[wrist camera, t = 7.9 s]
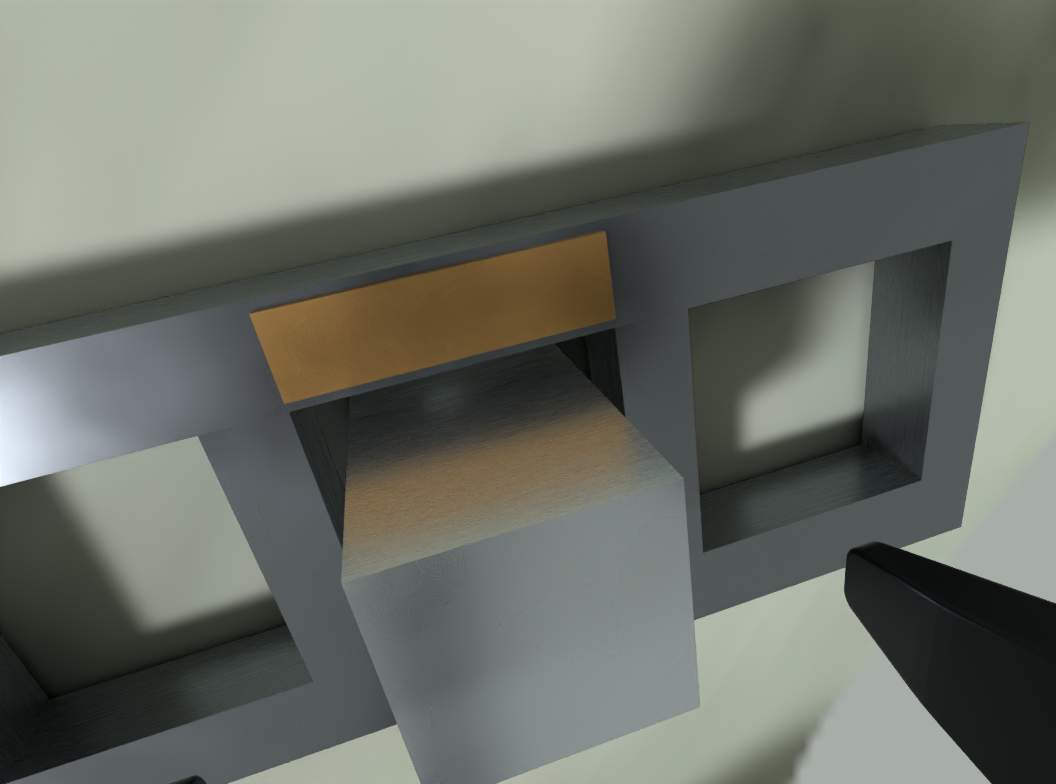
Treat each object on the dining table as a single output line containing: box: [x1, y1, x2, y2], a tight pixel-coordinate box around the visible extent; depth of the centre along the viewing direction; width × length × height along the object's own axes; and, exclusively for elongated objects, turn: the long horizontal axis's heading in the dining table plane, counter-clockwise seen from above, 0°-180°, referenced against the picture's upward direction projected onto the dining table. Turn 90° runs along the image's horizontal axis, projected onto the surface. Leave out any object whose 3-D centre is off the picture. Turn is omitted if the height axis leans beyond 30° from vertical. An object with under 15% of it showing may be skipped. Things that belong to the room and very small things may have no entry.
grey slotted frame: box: [0, 122, 1029, 784], centre depth 13 cm, size 10×24×2 cm, turn 100°
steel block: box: [341, 344, 700, 784], centre depth 11 cm, size 4×4×6 cm
